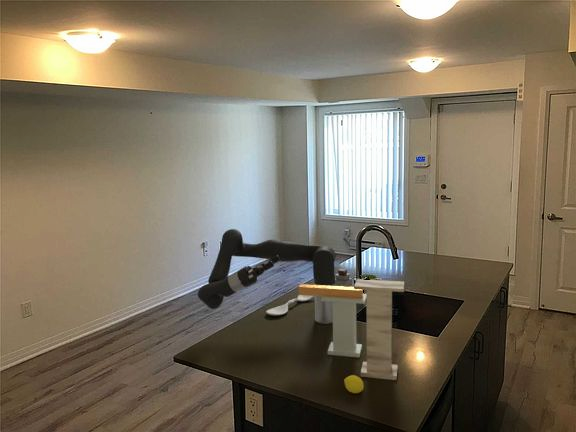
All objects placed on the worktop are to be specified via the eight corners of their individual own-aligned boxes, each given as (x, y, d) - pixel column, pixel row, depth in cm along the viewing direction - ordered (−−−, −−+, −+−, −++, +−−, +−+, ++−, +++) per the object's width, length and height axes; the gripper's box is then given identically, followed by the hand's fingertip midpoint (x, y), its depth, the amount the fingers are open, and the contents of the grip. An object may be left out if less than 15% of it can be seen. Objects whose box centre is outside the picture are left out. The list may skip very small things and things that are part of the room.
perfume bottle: (340, 302, 235) (339, 267, 232) (352, 305, 231) (352, 269, 228) (333, 306, 229) (332, 270, 226) (345, 309, 225) (345, 272, 222)
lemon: (366, 392, 154) (368, 377, 153) (357, 399, 150) (359, 384, 149) (348, 383, 158) (349, 368, 157) (339, 390, 154) (340, 375, 153)
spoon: (316, 299, 241) (316, 293, 240) (277, 320, 215) (277, 313, 215) (301, 296, 246) (301, 290, 245) (262, 316, 221) (261, 309, 220)
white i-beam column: (326, 344, 188) (325, 291, 184) (367, 348, 184) (366, 293, 180) (322, 354, 181) (321, 298, 177) (364, 357, 176) (364, 301, 173)
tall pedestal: (357, 364, 171) (356, 279, 166) (403, 369, 167) (404, 281, 162) (354, 375, 164) (353, 286, 158) (402, 380, 159) (403, 288, 154)
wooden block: (300, 292, 185) (300, 284, 184) (363, 295, 178) (363, 287, 178) (298, 294, 182) (298, 286, 181) (362, 298, 175) (362, 290, 175)
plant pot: (357, 295, 245) (357, 278, 243) (361, 289, 253) (361, 273, 252) (375, 296, 241) (375, 280, 240) (378, 290, 250) (378, 274, 249)
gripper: (253, 281, 195) (285, 263, 190) (241, 293, 182) (275, 274, 177) (243, 265, 195) (276, 247, 190) (230, 276, 181) (265, 256, 176)
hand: (275, 260), depth 183 cm, fingers open, 8 cm apart
